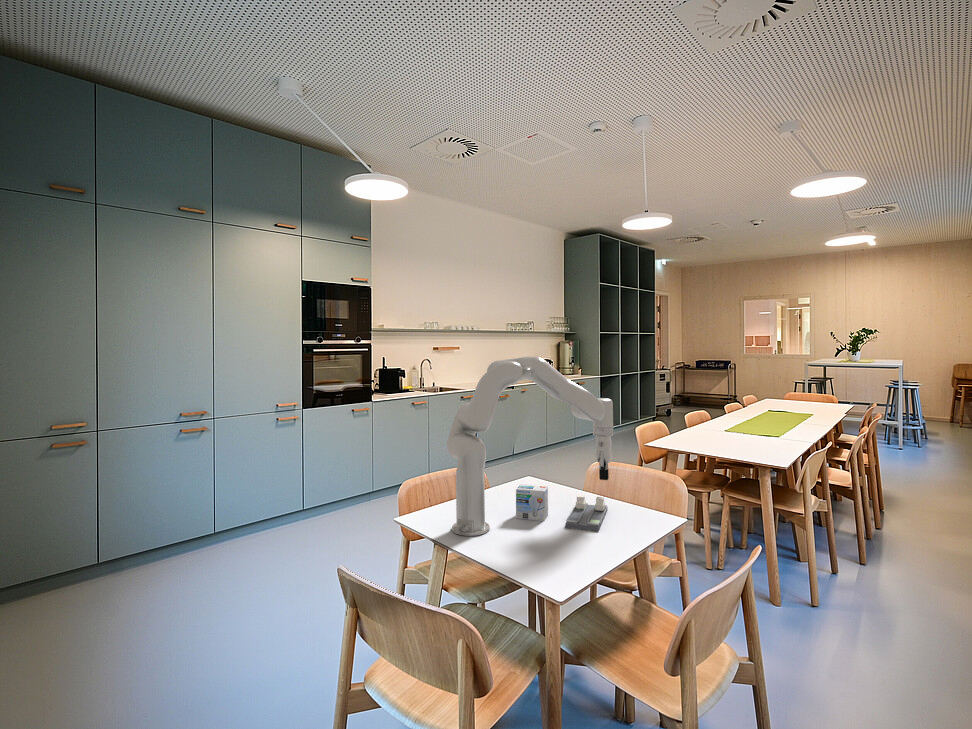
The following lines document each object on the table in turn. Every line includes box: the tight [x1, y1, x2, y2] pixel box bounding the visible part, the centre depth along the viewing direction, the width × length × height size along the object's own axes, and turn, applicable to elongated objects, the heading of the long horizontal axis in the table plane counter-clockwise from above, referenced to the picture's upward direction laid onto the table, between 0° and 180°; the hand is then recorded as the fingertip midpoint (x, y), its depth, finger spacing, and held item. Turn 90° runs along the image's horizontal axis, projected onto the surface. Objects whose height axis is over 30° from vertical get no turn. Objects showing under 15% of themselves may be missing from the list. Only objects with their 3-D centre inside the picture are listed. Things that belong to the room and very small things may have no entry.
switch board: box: [565, 502, 609, 533], centre depth 177 cm, size 23×11×2 cm, turn 159°
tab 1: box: [575, 494, 587, 509], centre depth 184 cm, size 4×3×4 cm
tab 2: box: [594, 496, 606, 511], centre depth 182 cm, size 4×3×4 cm
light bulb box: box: [515, 484, 549, 522], centre depth 180 cm, size 11×7×11 cm, turn 73°
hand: (604, 479), depth 189 cm, fingers closed
